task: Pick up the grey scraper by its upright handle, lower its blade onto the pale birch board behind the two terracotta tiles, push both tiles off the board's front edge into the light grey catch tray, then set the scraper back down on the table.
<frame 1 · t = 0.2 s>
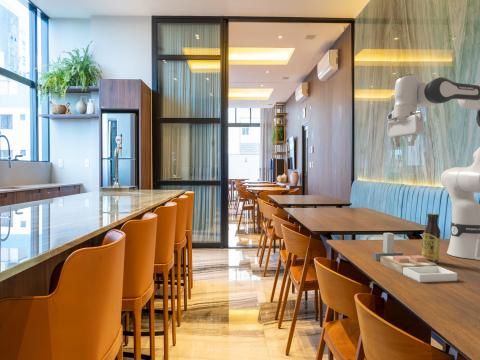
hand: (404, 146, 152), 47 cm above the table, tool pointing down, fingers open, 8 cm apart
catch tray: (429, 277, 124), on the table
birch board: (407, 268, 136), on the table
tile a: (417, 260, 135), point 3 cm above the table, touching birch board
scraper: (388, 259, 149), on the table
sauce bottle: (430, 262, 145), on the table
tile b: (400, 261, 134), point 3 cm above the table, touching birch board
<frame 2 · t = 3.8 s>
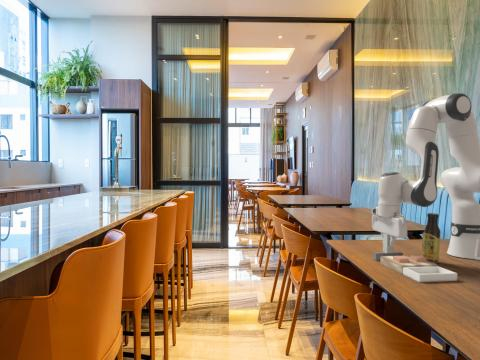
hand: (388, 244, 149), 6 cm above the table, tool pointing down, fingers closed on scraper, 3 cm apart
scraper: (388, 259, 149), on the table, touching gripper
everything else where it was.
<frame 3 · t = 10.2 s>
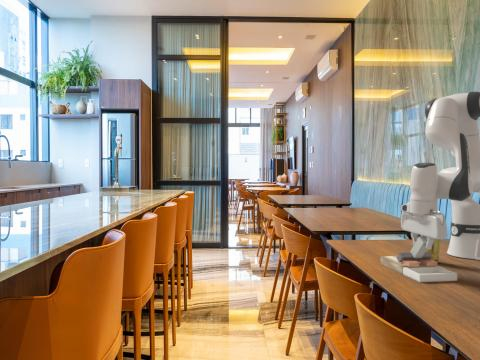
hand: (422, 247, 128), 10 cm above the table, tool pointing down, fingers closed on scraper, 5 cm apart
tile a: (428, 264, 129), point 3 cm above the table, touching birch board, scraper
scraper: (412, 259, 133), point 4 cm above the table, tilted 36°, touching gripper, tile a, tile b
tile b: (410, 265, 128), point 3 cm above the table, touching birch board, scraper
everything else where it was.
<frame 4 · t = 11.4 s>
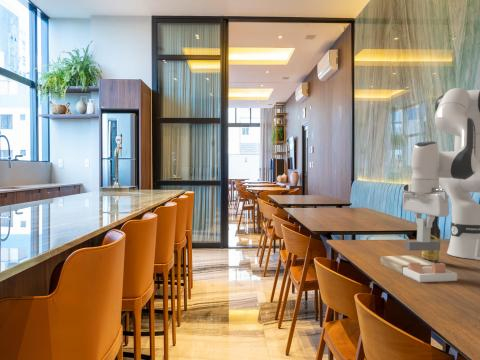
hand: (424, 226, 127), 17 cm above the table, tool pointing down, fingers closed on scraper, 3 cm apart
tile a: (437, 269, 126), point 2 cm above the table, tilted 87°, touching catch tray
scraper: (422, 249, 127), point 9 cm above the table, touching gripper
tile b: (414, 270, 126), point 2 cm above the table, tilted 44°, touching catch tray
everything else where it was.
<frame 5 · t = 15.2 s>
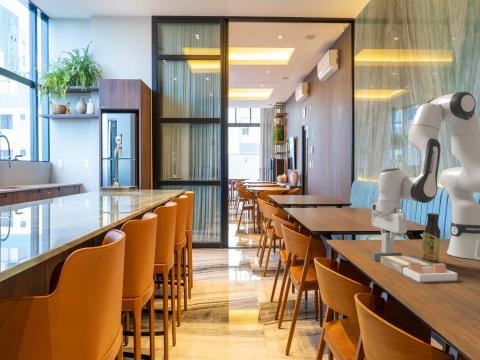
hand: (387, 240, 148), 8 cm above the table, tool pointing down, fingers closed on scraper, 3 cm apart
scraper: (386, 259, 149), on the table, touching gripper
everything else where it was.
when the fingers open (7 cm above the table, at t = 15.6 s): scraper stays where it is, on the table.
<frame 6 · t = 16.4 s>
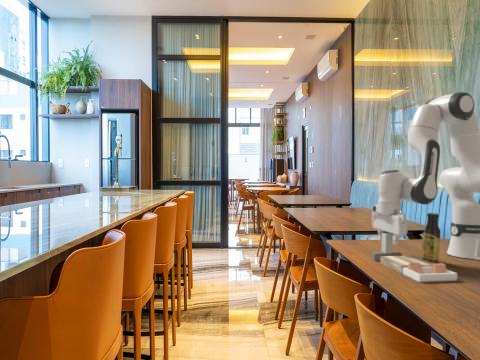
hand: (388, 242, 148), 7 cm above the table, tool pointing down, fingers open, 8 cm apart
scraper: (386, 259, 149), on the table
everything else where it was.
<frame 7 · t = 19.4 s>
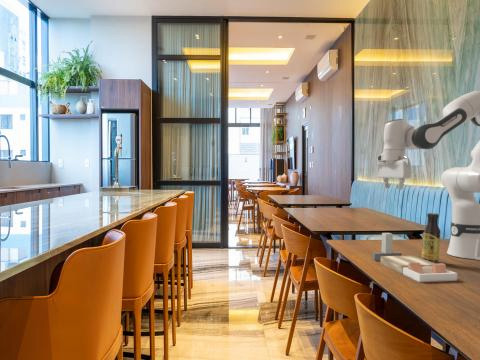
hand: (393, 188, 156), 29 cm above the table, tool pointing down, fingers open, 8 cm apart
nothing on the table moved.
at the end: tile a inside the target area (4.4 cm from its centre), point 2.4 cm above the table; tile b inside the target area (4.6 cm from its centre), point 1.8 cm above the table; the gripper is holding nothing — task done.
